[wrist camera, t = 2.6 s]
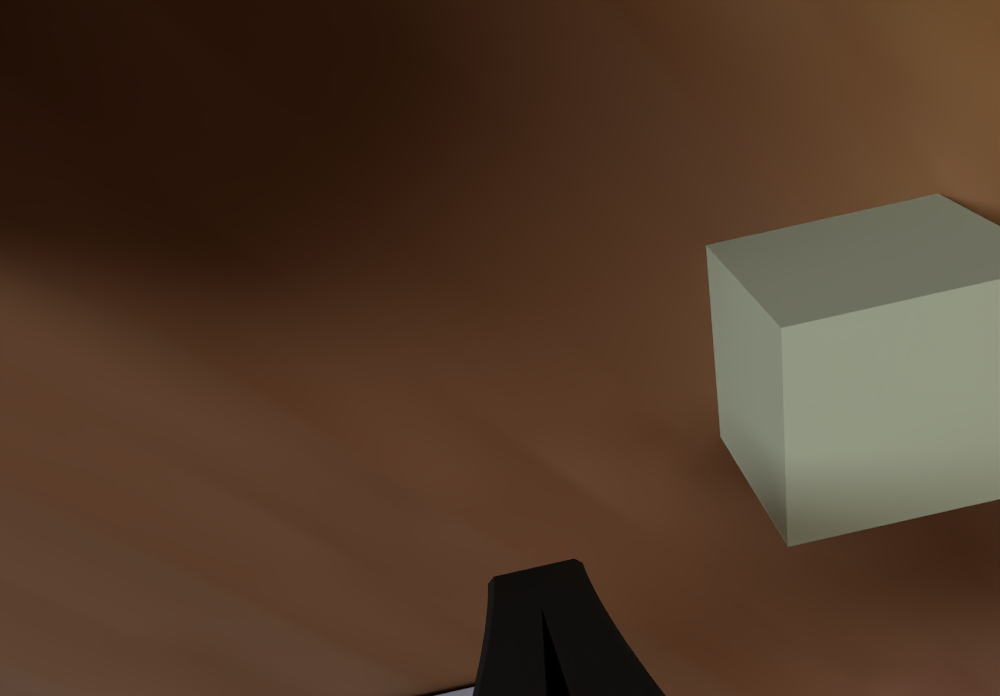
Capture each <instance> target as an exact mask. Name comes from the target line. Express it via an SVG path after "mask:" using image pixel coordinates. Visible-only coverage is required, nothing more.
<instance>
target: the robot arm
mask: <svg viewBox="0 0 1000 696" xmlns="http://www.w3.org/2000/svg"><path fill="white" fill-rule="evenodd" d="M435 696H665V694H664V693H663V692H662V690H661V689H660V688H659V687H658V685H657V684H656V683H655V681H654V680H653V679H652V677H651V676H650V675H649V673H648V672H647V671H646V669H645V668H644V666H643V665H642V664H641V662H640V661H639V659H638V658H637V657H636V655H635V654H634V652H633V651H632V650H631V648H630V647H629V645H628V644H627V643H626V641H625V640H624V638H623V637H622V635H621V633H620V632H619V630H618V629H617V627H616V626H615V624H614V623H613V621H612V619H611V618H610V616H609V614H608V613H607V611H606V610H605V608H604V606H603V604H602V603H601V601H600V599H599V597H598V596H597V594H596V592H595V590H594V588H593V586H592V584H591V582H590V580H589V577H588V575H587V573H586V571H585V568H584V565H583V563H582V562H580V561H578V560H576V559H571V560H566V561H562V562H557V563H553V564H548V565H544V566H539V567H535V568H531V569H526V570H522V571H517V572H513V573H508V574H504V575H499V576H495V577H493V579H492V580H491V581H490V582H489V583H488V605H487V617H486V625H485V633H484V639H483V645H482V651H481V658H480V663H479V667H478V672H477V677H476V681H475V686H474V687H471V688H466V689H462V690H457V691H453V692H448V693H444V694H440V695H435Z"/></svg>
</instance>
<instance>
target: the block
mask: <svg viewBox="0 0 1000 696" xmlns="http://www.w3.org/2000/svg"><path fill="white" fill-rule="evenodd" d="M706 251H707V264H708V277H709V290H710V304H711V317H712V330H713V343H714V356H715V369H716V383H717V396H718V409H719V422H720V435H721V438H722V440H723V442H724V443H725V445H726V446H727V448H728V450H729V451H730V453H731V455H732V456H733V458H734V460H735V461H736V463H737V465H738V466H739V468H740V469H741V471H742V473H743V474H744V476H745V478H746V479H747V481H748V483H749V484H750V486H751V488H752V489H753V491H754V492H755V494H756V496H757V497H758V499H759V501H760V502H761V504H762V506H763V507H764V509H765V511H766V512H767V514H768V516H769V517H770V519H771V520H772V522H773V524H774V525H775V527H776V529H777V530H778V532H779V534H780V535H781V537H782V539H783V540H784V542H785V543H786V545H787V547H790V546H794V545H799V544H803V543H807V542H812V541H816V540H821V539H825V538H830V537H834V536H838V535H843V534H847V533H852V532H856V531H861V530H865V529H869V528H874V527H878V526H883V525H887V524H892V523H896V522H900V521H905V520H909V519H914V518H918V517H923V516H927V515H932V514H936V513H940V512H945V511H949V510H954V509H958V508H963V507H967V506H971V505H976V504H980V503H985V502H989V501H994V500H998V499H1000V226H998V225H997V224H995V223H993V222H991V221H989V220H987V219H985V218H983V217H982V216H980V215H978V214H976V213H974V212H972V211H970V210H968V209H967V208H965V207H963V206H961V205H959V204H957V203H955V202H953V201H952V200H950V199H948V198H946V197H944V196H942V195H940V194H934V195H929V196H925V197H920V198H916V199H911V200H907V201H903V202H898V203H894V204H889V205H885V206H880V207H876V208H871V209H867V210H862V211H858V212H853V213H849V214H844V215H840V216H835V217H831V218H826V219H822V220H817V221H813V222H808V223H804V224H800V225H795V226H791V227H786V228H782V229H777V230H773V231H768V232H764V233H759V234H755V235H750V236H746V237H741V238H737V239H732V240H728V241H723V242H719V243H714V244H710V245H706Z"/></svg>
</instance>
